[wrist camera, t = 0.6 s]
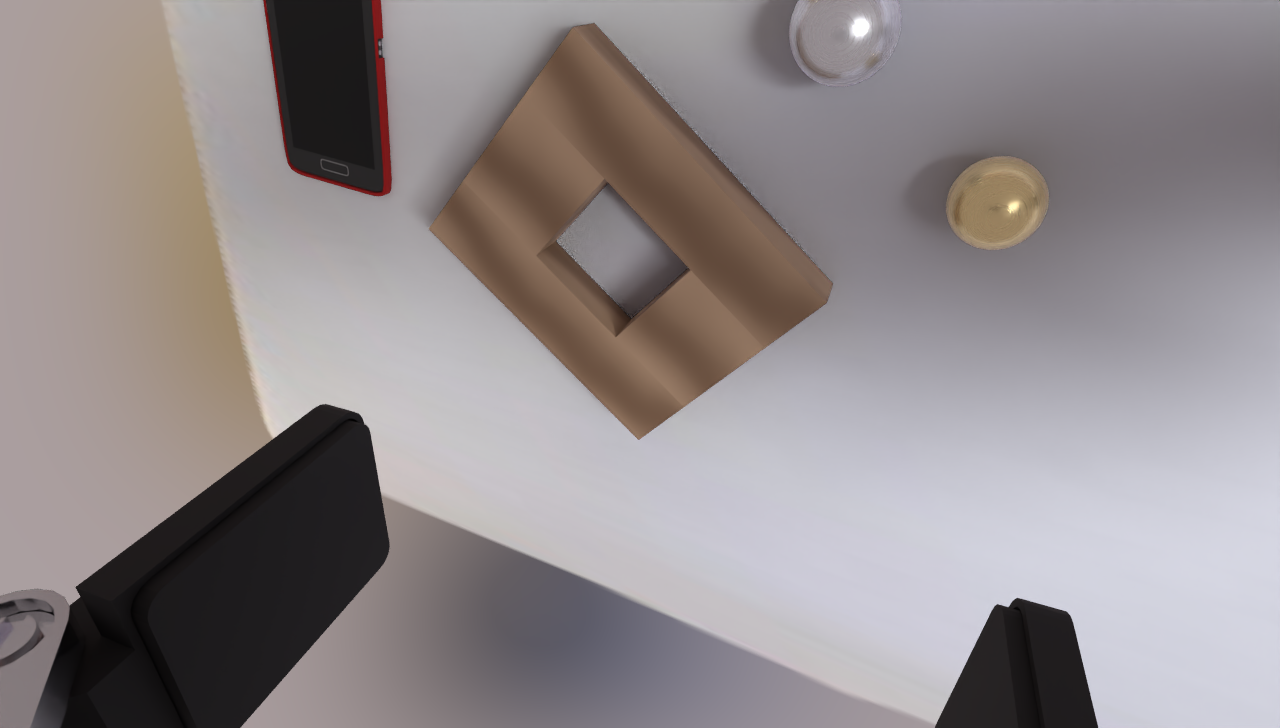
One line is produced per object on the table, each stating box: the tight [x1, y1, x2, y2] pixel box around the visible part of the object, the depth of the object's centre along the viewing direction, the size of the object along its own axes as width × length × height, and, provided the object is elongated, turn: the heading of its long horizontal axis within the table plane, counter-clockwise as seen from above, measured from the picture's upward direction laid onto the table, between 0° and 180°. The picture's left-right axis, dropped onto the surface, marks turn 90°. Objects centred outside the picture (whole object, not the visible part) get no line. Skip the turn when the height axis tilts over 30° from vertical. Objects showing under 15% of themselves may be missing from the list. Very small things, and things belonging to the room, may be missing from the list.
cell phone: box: [263, 0, 392, 196], centre depth 41 cm, size 8×15×1 cm, turn 171°
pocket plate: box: [429, 23, 833, 440], centre depth 39 cm, size 15×18×2 cm
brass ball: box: [946, 156, 1049, 250], centre depth 30 cm, size 4×4×4 cm
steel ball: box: [789, 0, 902, 87], centre depth 29 cm, size 4×4×4 cm
